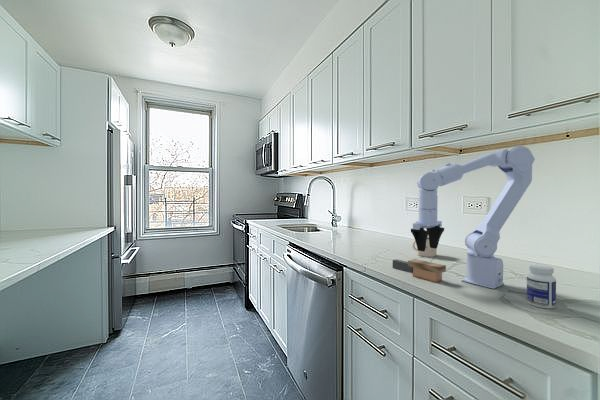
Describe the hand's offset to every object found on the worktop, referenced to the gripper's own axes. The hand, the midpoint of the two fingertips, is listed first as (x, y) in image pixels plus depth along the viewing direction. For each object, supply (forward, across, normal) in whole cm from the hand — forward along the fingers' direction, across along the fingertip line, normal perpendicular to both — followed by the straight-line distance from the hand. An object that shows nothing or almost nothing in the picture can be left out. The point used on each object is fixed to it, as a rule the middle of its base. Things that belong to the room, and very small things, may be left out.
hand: (427, 249), depth 93 cm
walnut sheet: (+7, 0, 0) cm, 7 cm away
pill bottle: (+10, -3, +29) cm, 31 cm away
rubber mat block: (+10, -3, -11) cm, 15 cm away
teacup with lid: (+10, -32, -20) cm, 39 cm away
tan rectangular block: (+10, 0, 0) cm, 10 cm away
